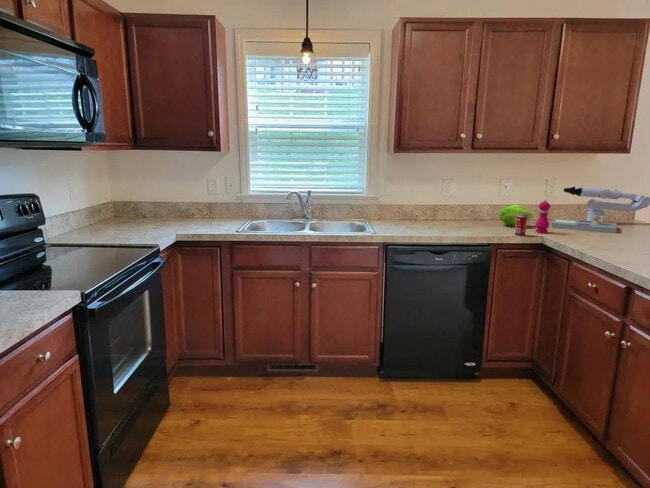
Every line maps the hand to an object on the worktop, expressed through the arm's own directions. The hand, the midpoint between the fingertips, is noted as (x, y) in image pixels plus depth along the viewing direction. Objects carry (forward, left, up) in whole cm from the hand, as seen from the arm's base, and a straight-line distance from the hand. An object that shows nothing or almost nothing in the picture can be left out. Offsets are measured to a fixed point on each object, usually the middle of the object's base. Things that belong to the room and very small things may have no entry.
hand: (566, 190), depth 285 cm
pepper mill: (+26, +40, -22) cm, 52 cm away
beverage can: (+41, +50, -22) cm, 68 cm away
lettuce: (+36, +20, -22) cm, 46 cm away
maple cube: (-13, +21, -19) cm, 31 cm away
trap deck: (-7, +19, -22) cm, 30 cm away
